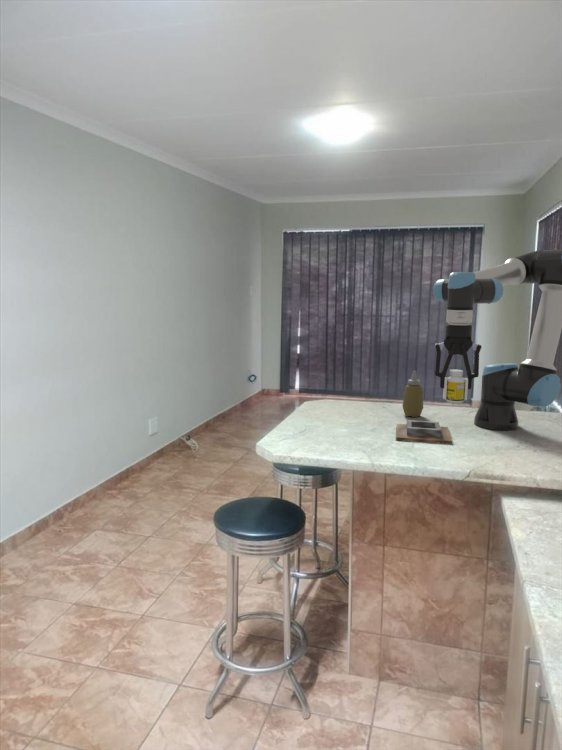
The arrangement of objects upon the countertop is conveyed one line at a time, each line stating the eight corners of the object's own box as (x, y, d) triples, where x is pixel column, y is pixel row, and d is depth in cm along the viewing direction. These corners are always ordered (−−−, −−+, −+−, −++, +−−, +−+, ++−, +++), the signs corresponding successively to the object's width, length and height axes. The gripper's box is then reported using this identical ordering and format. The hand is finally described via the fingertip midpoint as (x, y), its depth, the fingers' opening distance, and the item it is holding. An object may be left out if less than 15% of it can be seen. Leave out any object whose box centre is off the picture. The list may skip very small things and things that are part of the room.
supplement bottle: (442, 400, 167) (443, 369, 166) (457, 399, 169) (459, 368, 167) (451, 403, 162) (453, 372, 161) (467, 402, 164) (469, 371, 162)
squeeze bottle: (425, 418, 208) (427, 372, 204) (404, 418, 208) (406, 372, 205) (420, 413, 215) (422, 369, 212) (400, 413, 216) (402, 369, 213)
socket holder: (447, 429, 192) (448, 420, 191) (452, 444, 174) (452, 433, 174) (396, 426, 196) (396, 417, 195) (395, 440, 178) (396, 429, 178)
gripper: (428, 324, 160) (424, 400, 164) (493, 325, 156) (488, 402, 160) (426, 322, 167) (423, 395, 171) (489, 323, 163) (484, 397, 167)
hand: (454, 398), depth 165 cm, fingers closed on supplement bottle, 5 cm apart
